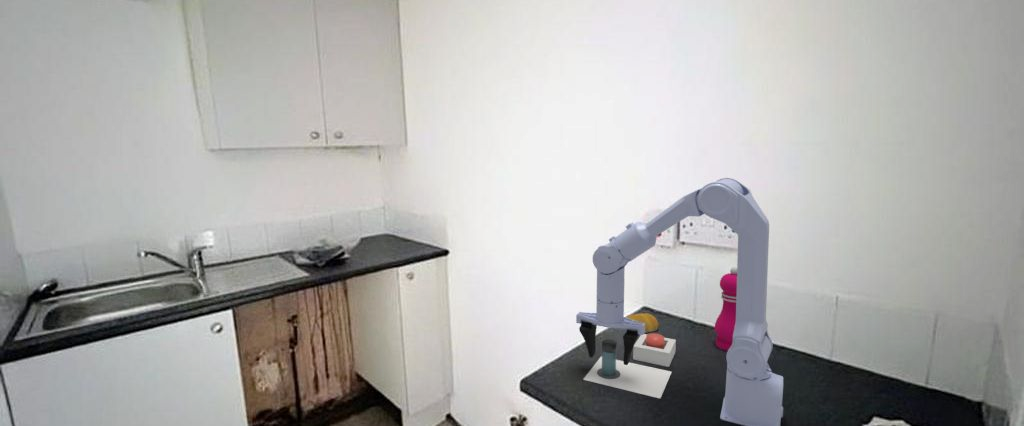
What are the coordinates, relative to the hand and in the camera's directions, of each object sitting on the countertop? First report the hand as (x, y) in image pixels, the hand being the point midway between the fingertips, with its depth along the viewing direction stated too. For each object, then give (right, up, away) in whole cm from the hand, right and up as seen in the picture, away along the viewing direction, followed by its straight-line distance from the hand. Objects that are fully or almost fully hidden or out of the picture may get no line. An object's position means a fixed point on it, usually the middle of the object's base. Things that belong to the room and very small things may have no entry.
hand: (609, 359), depth 103 cm
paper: (+4, -4, 0) cm, 5 cm away
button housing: (+12, -2, +9) cm, 15 cm away
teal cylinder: (0, -3, +1) cm, 3 cm away
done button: (+12, 0, +8) cm, 15 cm away
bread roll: (+14, 0, +26) cm, 29 cm away
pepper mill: (+32, -1, +14) cm, 35 cm away
